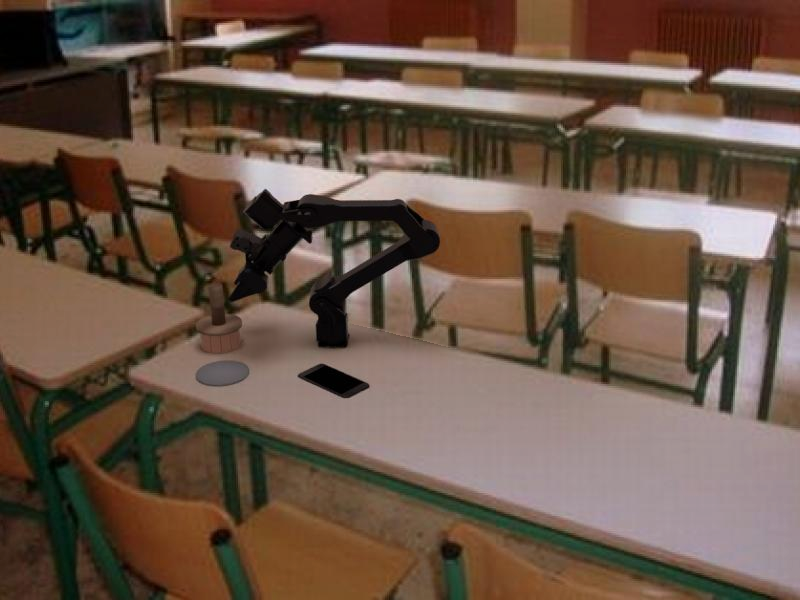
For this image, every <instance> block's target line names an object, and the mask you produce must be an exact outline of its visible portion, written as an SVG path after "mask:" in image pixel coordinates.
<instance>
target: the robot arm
mask: <svg viewBox="0 0 800 600" xmlns="http://www.w3.org/2000/svg"><path fill="white" fill-rule="evenodd" d="M242 212H243V214H245V215H246V217H248V218H249V219H251V220H252V221H253V222H254V223H255V224H256V225H258V226H259V227H260V228H261V229H262V230H272V229H273V230H272V231H270V232H269V233H266V234H264V235H263V236H262V237H260V236H259V235H255V234H254V233H251V232H248V231H247V230H243V229H241V228H236V229H235V232H234V233H233V234H234V235H233V236H232V239H231V242H230V243H229V244H230V245H229V248H230V249H232V250H234V251H240V252H241V253H244V258H245V263H244V264H243V266H242V267H241V268H240V270H239V272H238V274H237V277H236V278H235V280H234V281H233V284H234V285H235V287H234V288H233V290H232V292H231V294H230V295H229V297H228V298H227V299H228V301H229V302H231V303H234V302H236V301H239V300H242V299H245V298H247V297H250V296H253V295H258V294H259V295H262V294H263V293H264V292H265V291H266V289H268V286H269V283H270V282H269V275H270V276H271V275H272V274H273V273H274V271H275V268H276V267H277V266H278V265H279V264H280V263H281V262H284V261H285V260H286V259H287V257H288V256H287V255H289V253H290V252H292V250H293V249H294V248H295V247H296V246H297V245H298V244H299V243H300V242H301V241H302V240H305V242H307V244H310V245H311V244H312V243H313V240H314V239H313V238H314V237H313V232H314V231H313V229H315V228H319V227H324V226H328V225H331V224H335V223H339V222H393V223H395V224H396V225H397V226H398V227H399V228H400V229H401V231H403V233H404V234H403V235H402V236H401V237H400V238H399V239H398V240H397V242H395V243H394V244H392V245H390V246H388V247H387V248H386V249H384V250H381V251H380V252H379V253H376V254H375V255H373V256H372V257H370V258H368V259H366V260H365V261H363V262H361V263H360V264H359V265H357V266H355V267H354V268H352V269H350V270H348V271H346V272H345V273H343V274H341V275H336V276H334V274H333V273H332V271H329V272H327V273H326V274H324V276H322V277H320V278H316V279H315V283H314V284H313V285H312V287H311V288H310V295H309V298H308V299H309V300H308V306H309V309H310V311H311V312H312V313H313V314H314V315H316V316H317V320H316V322H315V340H316V342H317V348H347V347H348V344H349V340H350V332H349V322H348V321H349V320H348V319H349V318H348V313H347V312H346V309H347V307H346V305H347V298H348V297H350V295H351V294H352V293H354V292H356V291H357V290H360V289H361V288H363V287H365V286H366V285H367V284H369V283H371V282H373V281H375V280H376V279H378V278H379V277H382V276H383V275H385V274H386V273H388V272H390V271H391V270H393V269H395V268H396V267H398V266H400V265H401V264H403V263H405V262H408V261H413V260H420V259H422V258H425V257H427V256H430V255H432V254H435V252H437V251H438V249H439V248H440V244H441V238H440V232H439V228H438V226H437V225H436V223H434V222H433V221H432V220H427V219H425V218H424V217H422V215H420V213H419V212H417V211H416V210H414V209H413V208H411V207H410V206H409V205H408V204H407V203H406V202H405V201H404V200H402V199H400V198H394V199H373V200H372V199H365V200H364V199H357V200H354V199H351V200H347V199H346V200H345V199H344V200H342V199H335V198H332V197H329V196H327V195H326V196H325V195H319V194H312V193H308V194H304V195H303V196H301V198H299V199H296V200H288V201H285V202H284V201H283V203H281V202H280V201H279V200H278V199H277V198H276V197H274V195H273V194H272V193H271V192H270V191H269V190H268V189H267V188H264V189H263V190H262V191H261V192H260V193H258V194H257V195H255V196H254V197H253V198H252V199H251V200H250V202H249V203H247V205H246V207H245V208H244V209H243V211H242ZM279 221H280V222H279ZM274 227H275V228H274ZM265 272H266V273H267V274H269V275H267V274H266V273H265Z"/></svg>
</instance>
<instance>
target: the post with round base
mask: <svg viewBox="0 0 800 600" xmlns="http://www.w3.org/2000/svg"><path fill="white" fill-rule="evenodd" d="M208 294H209V295H208V296H209V305H210V315H206V316H204V317H202V318H200V319H199V320H198V321H196V323H195V330H196V331H197V333H199V334H200V333H201V334H203V335H208V336H221V335H227V334H231V333H234V332H236V331H238V330H240V329H241V328H242V327H243V320H242V318H241V317H240V316H238V315H234V314H232V313H231V314H229V313H226V310H225V309H226V308H225V298H224V289H223V284H221V283H212V284H209V285H208Z"/></svg>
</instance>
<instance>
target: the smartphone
mask: <svg viewBox="0 0 800 600" xmlns="http://www.w3.org/2000/svg"><path fill="white" fill-rule="evenodd" d="M297 378H299V379H300V380H303V381H305V382H307V383H309V384H310V385H313V386H316V387H318V388H320V389H323V390H325V391H326V392H329V393H331V394H333V395H335V396H337V397H340V398H342V399H350V398H352V397H353V396H356V395H358V394H359V393H362V392H364V391H366V390H367V389H369V388H370V383H368V382H367V381H364V380H362V379H360V378H357V377H355V376H352V375H350V374H349V373H346V372H344V371H341V370H339V369H337V368H335V367H332V366H329V365H328V364H324V363H319V364H316V365H314V366H312V367H309V368H308V369H305V370H303V371H302V372H300V373H298V374H297Z"/></svg>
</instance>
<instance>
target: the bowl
mask: <svg viewBox="0 0 800 600" xmlns="http://www.w3.org/2000/svg"><path fill="white" fill-rule="evenodd" d="M199 340H200V348H202V349H203V351H204V352H206V353H211V354H223V353H228V352H232V351H234V350H236V349H238V348H239V347H240V345H241V343H242V342H241V332H240V329H239V330H238V331H236V332H234V333H231V334H227V335H221V336H208V335H203V334H201V333H199Z"/></svg>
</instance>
